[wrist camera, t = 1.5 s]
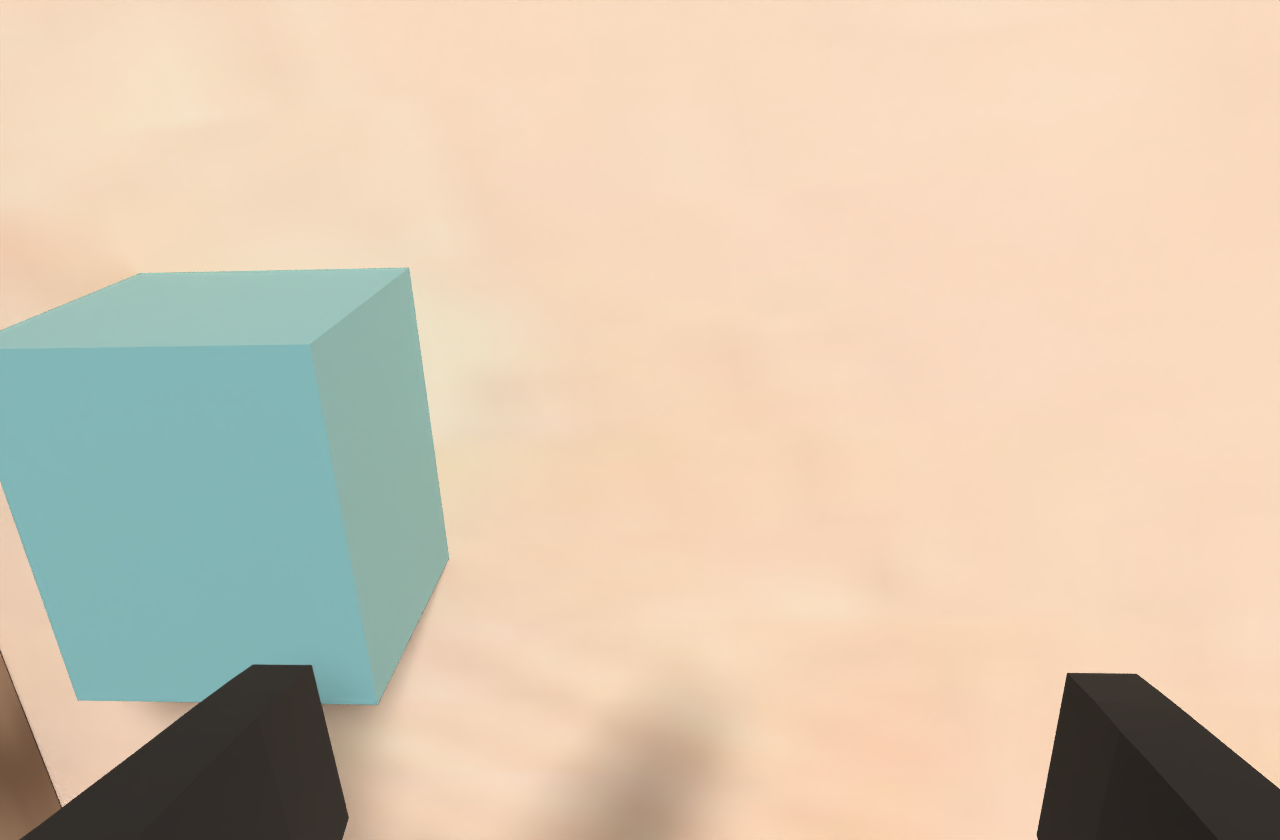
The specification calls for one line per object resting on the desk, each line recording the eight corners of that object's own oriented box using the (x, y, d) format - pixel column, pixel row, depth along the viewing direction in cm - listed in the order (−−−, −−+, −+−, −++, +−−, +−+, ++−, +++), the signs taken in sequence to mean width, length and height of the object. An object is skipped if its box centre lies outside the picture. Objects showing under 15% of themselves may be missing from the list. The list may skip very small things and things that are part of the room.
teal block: (450, 554, 18) (378, 705, 14) (216, 554, 19) (77, 700, 14) (411, 265, 16) (309, 344, 12) (143, 271, 16) (-46, 348, 12)
